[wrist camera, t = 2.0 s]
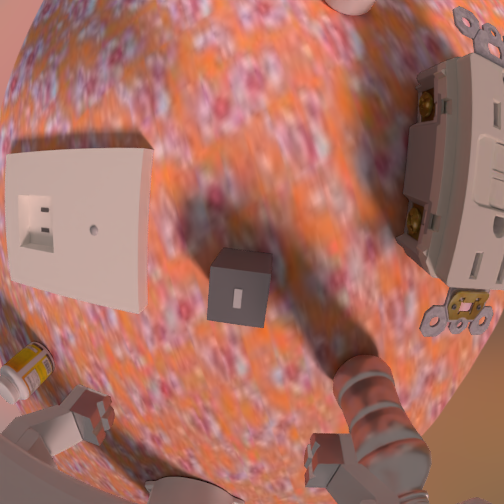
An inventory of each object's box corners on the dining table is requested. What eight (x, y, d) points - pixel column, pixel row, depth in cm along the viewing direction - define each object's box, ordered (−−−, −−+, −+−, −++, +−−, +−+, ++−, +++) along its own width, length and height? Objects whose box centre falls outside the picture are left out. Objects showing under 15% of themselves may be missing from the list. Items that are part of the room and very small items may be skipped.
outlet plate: (147, 304, 31) (138, 314, 28) (22, 274, 32) (10, 280, 29) (153, 149, 27) (143, 148, 24) (19, 154, 27) (5, 154, 25)
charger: (265, 298, 29) (263, 328, 24) (219, 292, 30) (206, 320, 24) (272, 253, 28) (271, 274, 22) (223, 247, 28) (210, 266, 23)
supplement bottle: (26, 347, 35) (-13, 380, 25) (38, 334, 34) (-5, 369, 24) (47, 375, 36) (12, 412, 26) (61, 365, 35) (23, 405, 25)
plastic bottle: (320, 365, 31) (347, 529, 12) (374, 336, 30) (447, 487, 10) (342, 399, 32) (372, 543, 13) (392, 373, 31) (452, 509, 11)
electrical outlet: (486, 62, 20) (541, 46, 11) (458, 297, 29) (502, 341, 20) (401, 27, 21) (445, -12, 11) (375, 293, 30) (408, 347, 20)
